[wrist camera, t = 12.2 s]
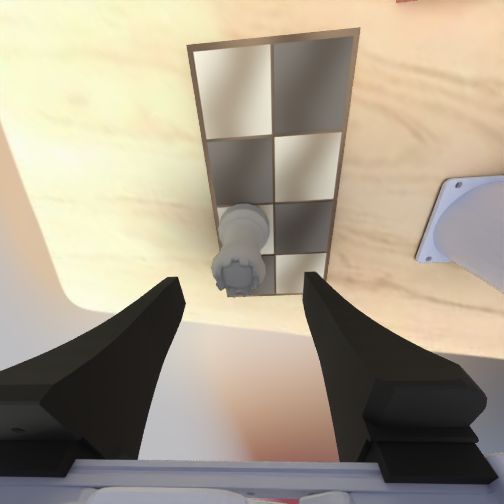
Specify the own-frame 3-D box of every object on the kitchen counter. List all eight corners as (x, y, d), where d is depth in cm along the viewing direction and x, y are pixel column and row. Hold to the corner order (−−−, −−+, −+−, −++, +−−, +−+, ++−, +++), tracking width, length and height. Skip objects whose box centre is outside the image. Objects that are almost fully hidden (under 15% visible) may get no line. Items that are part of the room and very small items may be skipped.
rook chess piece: (274, 242, 19) (284, 302, 12) (228, 252, 20) (213, 315, 13) (263, 195, 17) (267, 236, 10) (212, 208, 18) (183, 255, 11)
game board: (355, 33, 13) (361, 26, 12) (322, 288, 23) (325, 294, 22) (190, 49, 14) (185, 44, 13) (228, 292, 24) (227, 298, 23)
